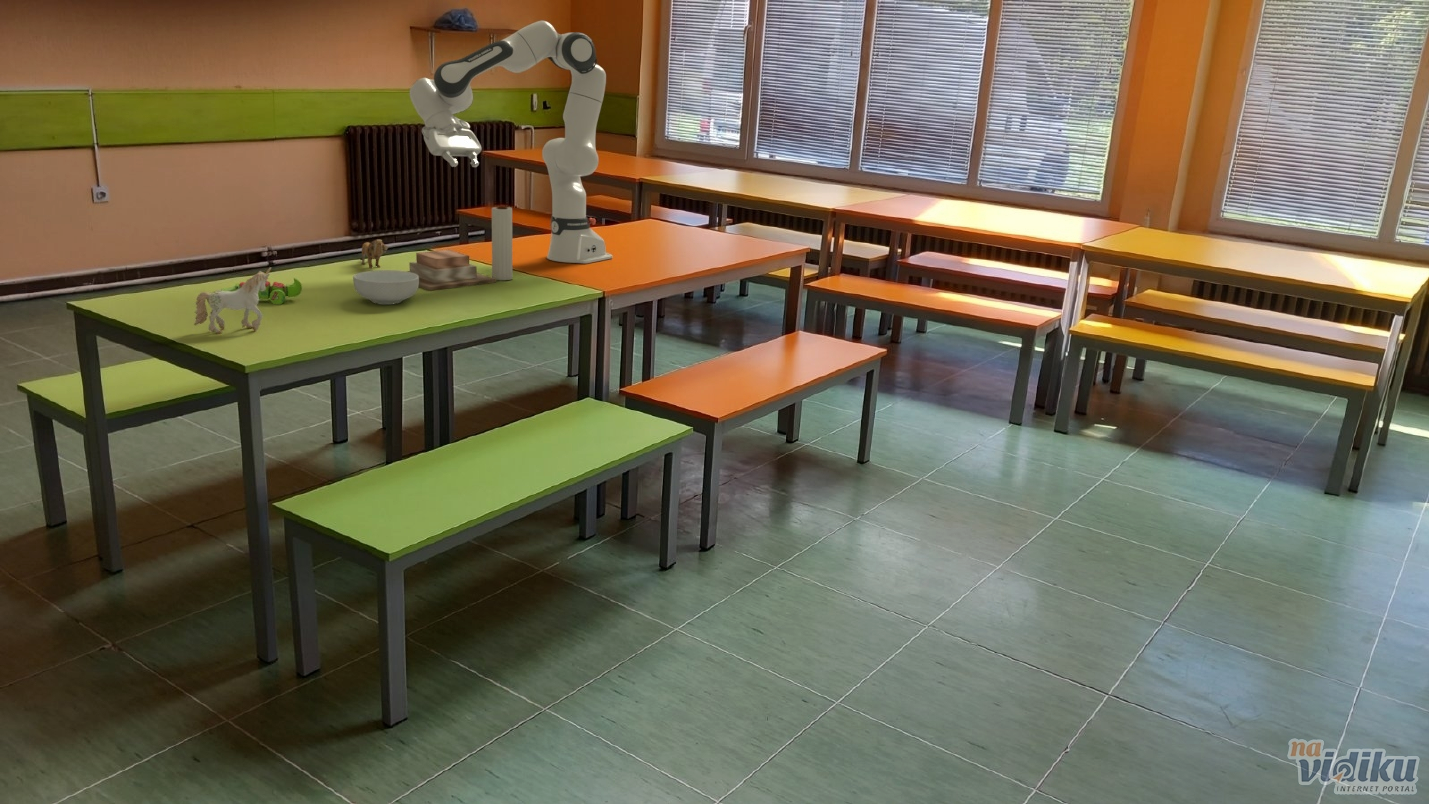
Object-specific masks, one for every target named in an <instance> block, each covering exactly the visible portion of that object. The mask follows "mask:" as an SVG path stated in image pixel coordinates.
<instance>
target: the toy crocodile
mask: <svg viewBox="0 0 1429 804" xmlns="http://www.w3.org/2000/svg"><path fill="white" fill-rule="evenodd" d="M293 280H294V281H293V283H292V284H285V285H284V283H282V282H278V281H274V282H273V283H272V284H271V282H270V281H268V280H267V281H266V283H265V287H266V290H264V291H260V289H259V292H258V298H259V300H270V303H272V304H274V305H283V303H285V301H286V298H294V297H297V296H299V295H300V294H301V293H302V288H303V286H302V283H301V281H299V279H297V278H296V277H293ZM244 283H246V281H245V282H244V281H240V283H235V285H234V286H231V287H228V288H221V289H220V291H231V292H232V291H236V290H238V289H240V288H241V287H242V285H243V284H244Z"/></svg>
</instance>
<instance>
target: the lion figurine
mask: <svg viewBox="0 0 1429 804" xmlns="http://www.w3.org/2000/svg"><path fill="white" fill-rule="evenodd" d="M388 249H389V246H387V245H385V243H384V242H383V240H382V239H375V240H374V239H373V240H372V241H371V242H364V243H363V244H362V245H361V258H360V259H359V260H360V261H361V263H360V264H361V265H363V266H364V265H366V262H365V261H366V259H365V258H366V257H367V263H368V269H373V268H374V267H373V262H372V261H373V260H375V264H374V265H375V267H376V266H377V267H376V268H381V267H380V266H381V265H380V264H379V262H380V259H381V256H382V255H383V254H384V253H387V250H388ZM372 267H373V268H372Z"/></svg>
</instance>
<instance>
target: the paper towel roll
mask: <svg viewBox="0 0 1429 804" xmlns="http://www.w3.org/2000/svg"><path fill="white" fill-rule="evenodd" d="M491 257H492V258H491V271H492V272H491V275H492V276H491V278H494V279H496V281H510V280H512V279H513V207H510V205H509V207H505V206H497V207H496V206H494V207H491Z"/></svg>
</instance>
